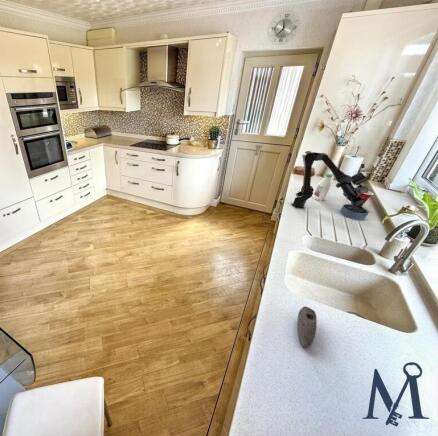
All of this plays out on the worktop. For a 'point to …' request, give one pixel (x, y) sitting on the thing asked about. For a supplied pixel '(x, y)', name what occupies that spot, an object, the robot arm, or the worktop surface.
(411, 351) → the worktop surface
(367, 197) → the plastic cup
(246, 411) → the worktop surface
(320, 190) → the milk bottle
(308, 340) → the perforated stone tool
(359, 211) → the bowl
